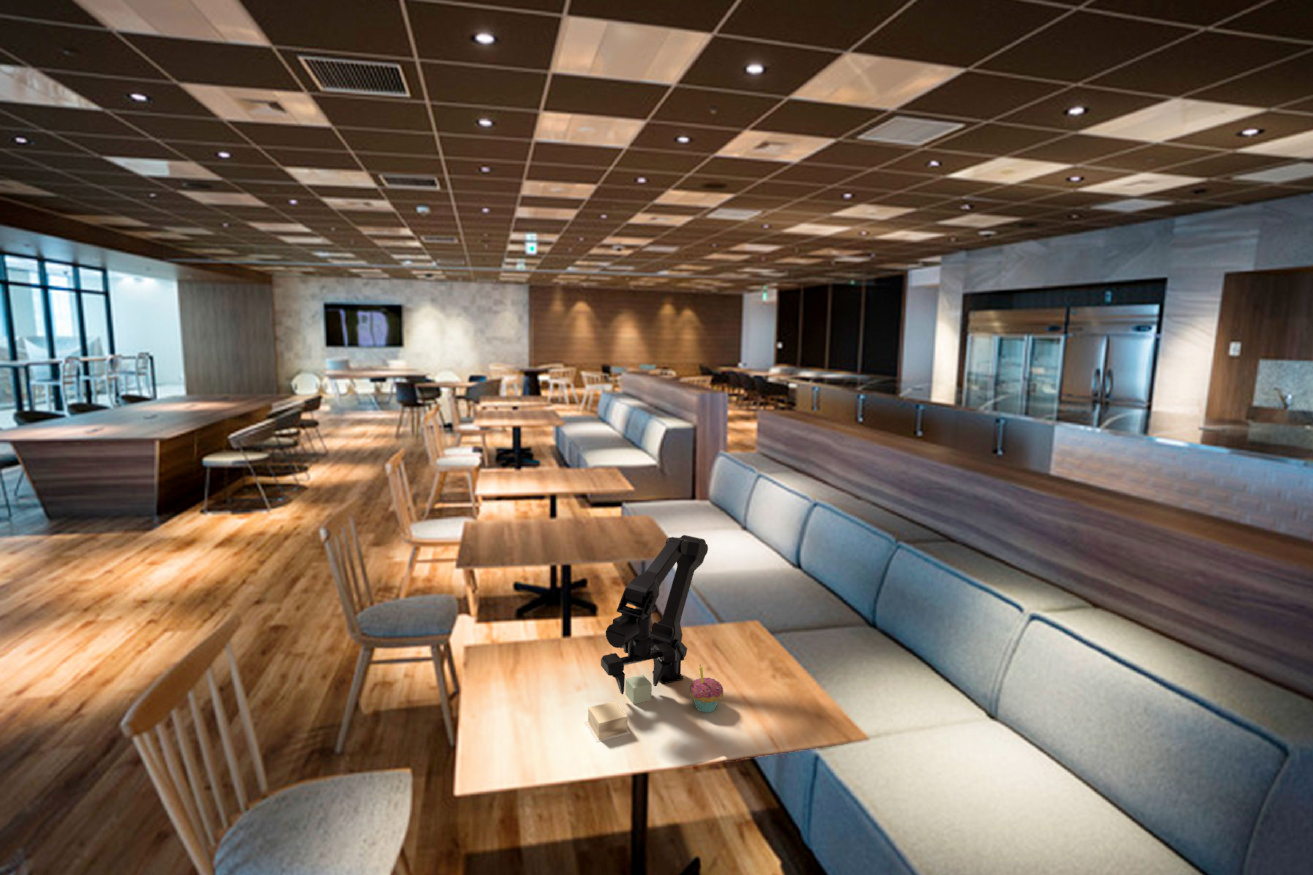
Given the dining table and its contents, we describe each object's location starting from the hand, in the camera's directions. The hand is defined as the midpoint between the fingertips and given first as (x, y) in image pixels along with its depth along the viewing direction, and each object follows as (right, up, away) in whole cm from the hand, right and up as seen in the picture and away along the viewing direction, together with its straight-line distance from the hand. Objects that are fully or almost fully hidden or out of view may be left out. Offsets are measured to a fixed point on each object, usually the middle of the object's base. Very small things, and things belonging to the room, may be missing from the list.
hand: (638, 689), depth 169 cm
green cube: (0, -3, 0) cm, 3 cm away
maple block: (-7, -4, -13) cm, 15 cm away
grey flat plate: (-5, -5, -12) cm, 14 cm away
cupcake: (+17, -4, -2) cm, 17 cm away
